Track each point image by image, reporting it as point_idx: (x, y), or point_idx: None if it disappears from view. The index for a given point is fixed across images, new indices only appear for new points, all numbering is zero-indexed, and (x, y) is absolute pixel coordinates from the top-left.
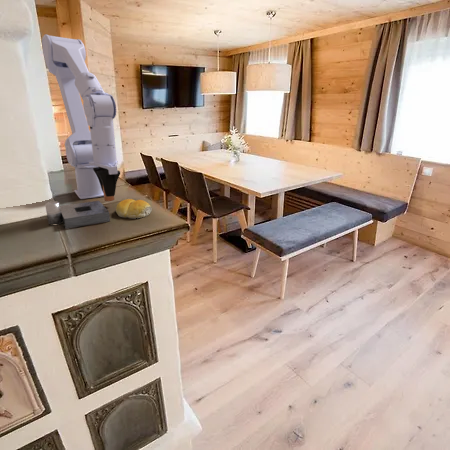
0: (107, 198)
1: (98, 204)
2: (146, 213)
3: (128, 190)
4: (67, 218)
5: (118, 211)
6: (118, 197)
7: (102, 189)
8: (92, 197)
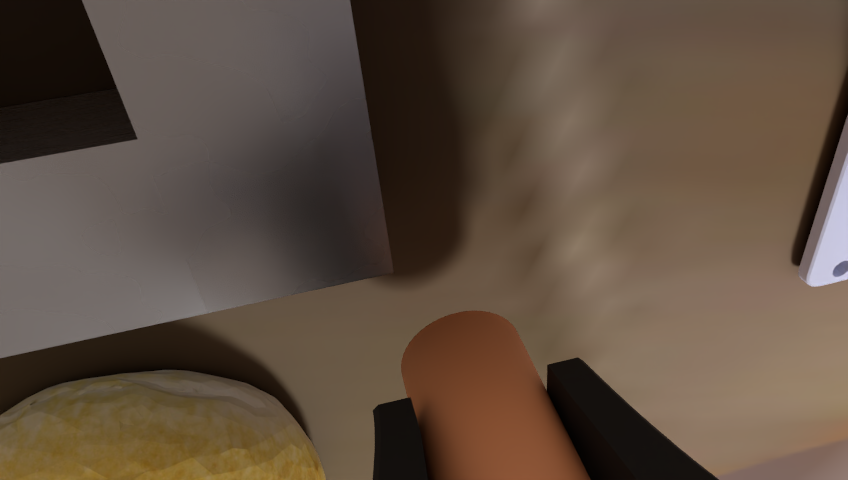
0: (417, 372)
1: (197, 269)
2: None
3: (830, 420)
4: None
5: (25, 434)
6: (694, 359)
7: (576, 405)
8: (842, 131)
